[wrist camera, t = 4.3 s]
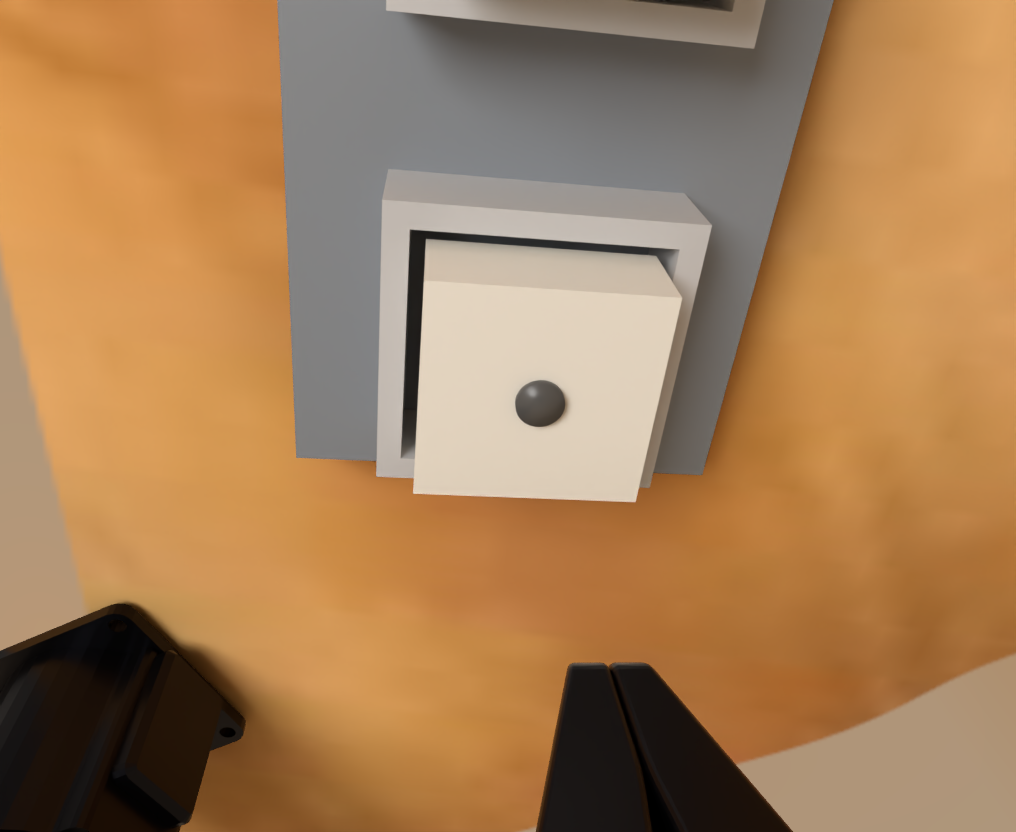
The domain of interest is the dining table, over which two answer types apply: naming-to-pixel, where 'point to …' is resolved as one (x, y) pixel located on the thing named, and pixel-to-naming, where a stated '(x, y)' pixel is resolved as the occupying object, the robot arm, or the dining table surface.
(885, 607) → the dining table surface
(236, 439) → the dining table surface
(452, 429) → the button one
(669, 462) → the button panel
